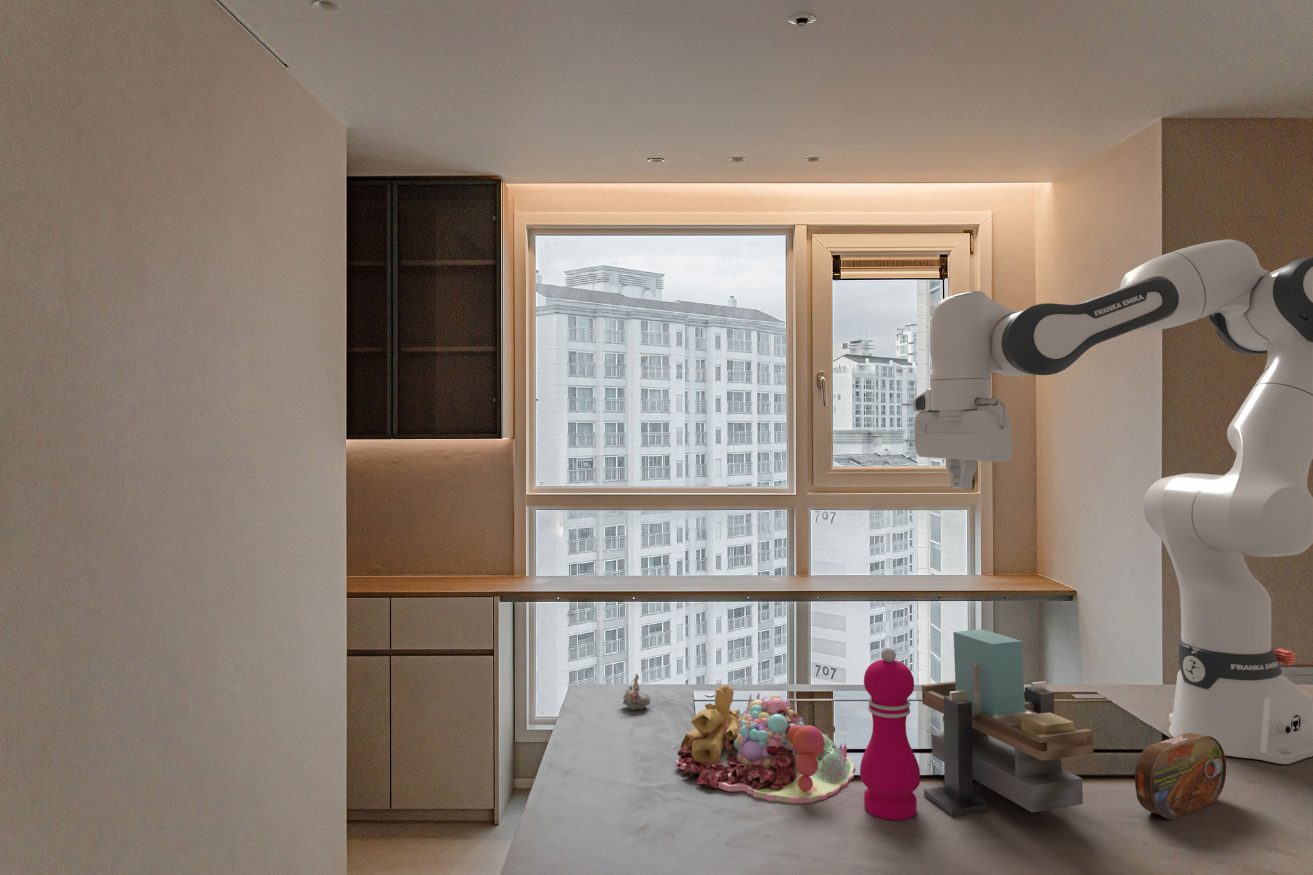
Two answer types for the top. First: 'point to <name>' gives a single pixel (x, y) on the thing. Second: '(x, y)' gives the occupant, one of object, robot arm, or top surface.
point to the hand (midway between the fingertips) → (961, 489)
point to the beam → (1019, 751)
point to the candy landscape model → (763, 751)
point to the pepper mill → (889, 741)
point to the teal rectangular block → (990, 670)
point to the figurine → (636, 697)
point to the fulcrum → (970, 750)
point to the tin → (1180, 775)
